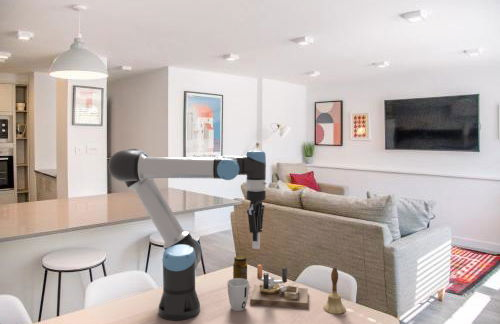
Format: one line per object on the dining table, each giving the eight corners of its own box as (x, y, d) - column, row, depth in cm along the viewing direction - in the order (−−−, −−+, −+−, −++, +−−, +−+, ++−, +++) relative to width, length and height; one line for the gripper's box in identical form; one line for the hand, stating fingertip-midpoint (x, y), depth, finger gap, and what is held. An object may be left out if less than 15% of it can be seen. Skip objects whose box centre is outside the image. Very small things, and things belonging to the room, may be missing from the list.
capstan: (289, 299, 150) (289, 275, 150) (258, 299, 150) (258, 275, 149) (285, 286, 163) (285, 263, 162) (257, 286, 163) (257, 264, 162)
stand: (250, 304, 151) (250, 293, 151) (254, 289, 165) (254, 279, 165) (307, 308, 148) (307, 296, 148) (307, 293, 162) (307, 282, 161)
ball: (278, 294, 155) (278, 286, 155) (279, 291, 158) (279, 283, 158) (286, 295, 154) (286, 287, 154) (287, 292, 158) (287, 284, 157)
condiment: (246, 280, 175) (246, 254, 174) (250, 288, 167) (250, 260, 166) (230, 282, 173) (230, 255, 172) (233, 289, 165) (233, 261, 164)
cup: (246, 313, 143) (246, 287, 142) (224, 311, 145) (225, 285, 144) (250, 304, 151) (250, 279, 150) (230, 302, 153) (230, 277, 152)
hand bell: (321, 311, 145) (322, 269, 144) (325, 302, 153) (326, 262, 152) (343, 315, 142) (345, 273, 141) (347, 306, 150) (348, 265, 149)
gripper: (258, 192, 147) (258, 254, 149) (270, 188, 159) (270, 245, 161) (240, 191, 150) (240, 251, 152) (253, 187, 162) (253, 243, 164)
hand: (256, 248), depth 156 cm, fingers closed
